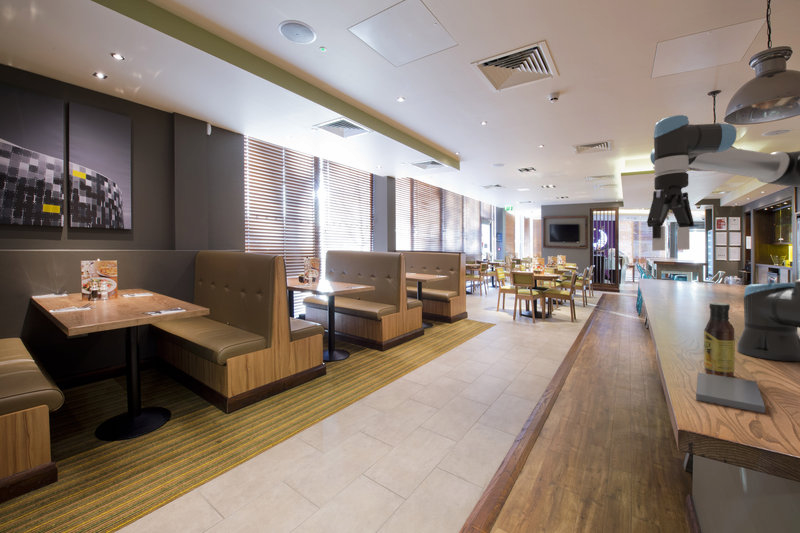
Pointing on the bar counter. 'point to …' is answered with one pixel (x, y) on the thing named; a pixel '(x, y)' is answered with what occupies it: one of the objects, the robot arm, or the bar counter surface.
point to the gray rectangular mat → (729, 392)
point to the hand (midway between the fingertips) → (671, 250)
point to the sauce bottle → (719, 342)
